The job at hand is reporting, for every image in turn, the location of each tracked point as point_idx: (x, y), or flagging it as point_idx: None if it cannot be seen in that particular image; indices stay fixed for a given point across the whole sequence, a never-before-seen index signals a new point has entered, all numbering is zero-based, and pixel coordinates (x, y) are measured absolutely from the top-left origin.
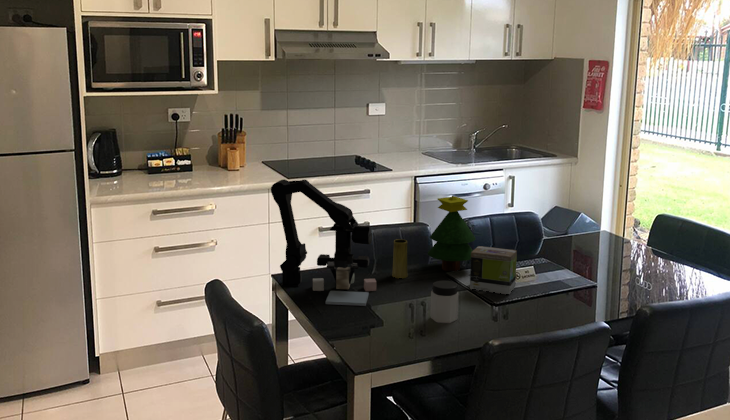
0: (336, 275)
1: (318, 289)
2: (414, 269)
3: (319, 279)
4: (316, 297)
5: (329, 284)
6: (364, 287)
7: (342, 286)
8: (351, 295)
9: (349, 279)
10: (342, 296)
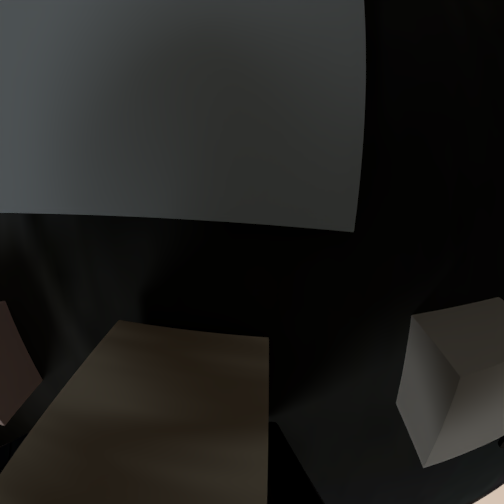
0: (263, 502)
1: (465, 311)
2: None
3: (474, 430)
4: (476, 92)
5: (335, 452)
6: (22, 360)
7: (180, 350)
8: (55, 76)
9: None
10: (157, 12)
